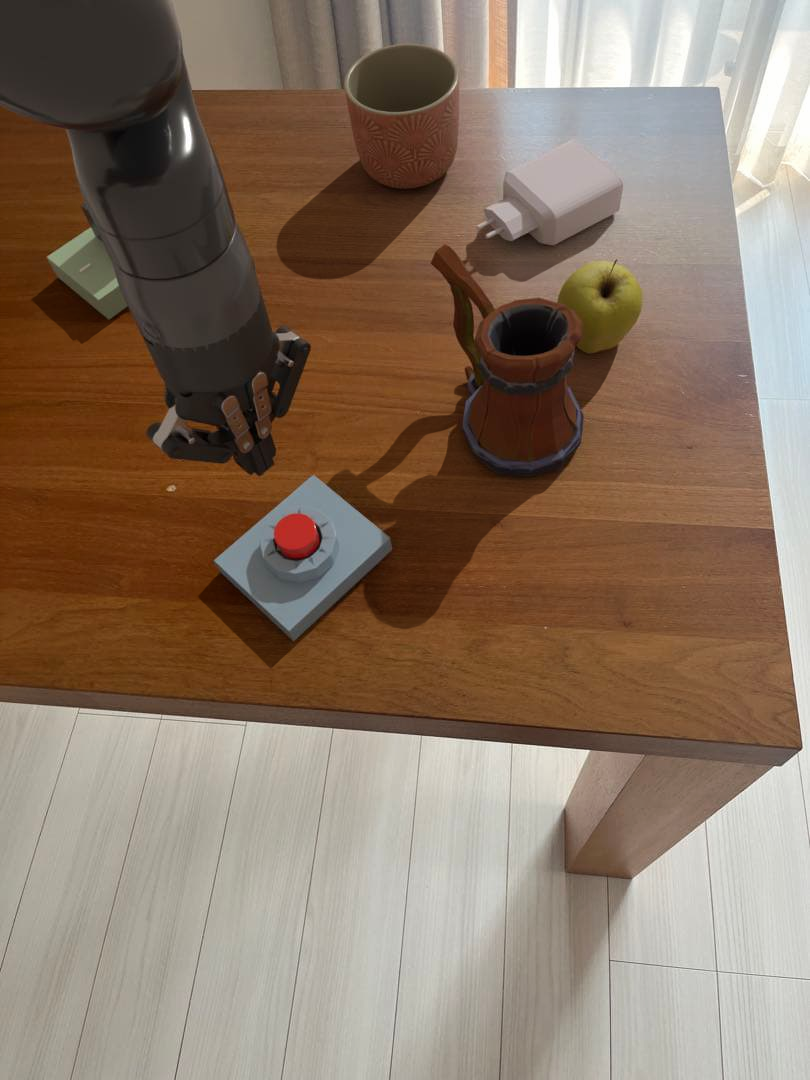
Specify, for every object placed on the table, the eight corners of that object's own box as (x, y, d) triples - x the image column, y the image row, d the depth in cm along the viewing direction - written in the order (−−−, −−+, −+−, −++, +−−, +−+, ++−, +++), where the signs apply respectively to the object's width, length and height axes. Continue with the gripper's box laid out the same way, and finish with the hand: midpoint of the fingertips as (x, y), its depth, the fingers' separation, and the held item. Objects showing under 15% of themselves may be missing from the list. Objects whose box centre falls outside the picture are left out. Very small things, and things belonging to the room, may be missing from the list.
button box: (293, 641, 75) (284, 622, 72) (219, 571, 79) (207, 550, 76) (392, 549, 79) (388, 527, 75) (317, 487, 83) (309, 463, 79)
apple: (555, 290, 91) (593, 222, 82) (625, 322, 91) (671, 258, 82) (532, 347, 88) (569, 282, 79) (605, 380, 88) (650, 319, 79)
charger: (458, 226, 98) (567, 171, 101) (506, 274, 94) (618, 215, 97) (457, 191, 94) (571, 134, 97) (507, 240, 90) (624, 179, 93)
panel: (110, 321, 96) (99, 300, 93) (55, 275, 100) (43, 254, 97) (202, 255, 100) (194, 233, 97) (146, 213, 104) (136, 191, 101)
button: (297, 567, 75) (293, 557, 73) (269, 542, 76) (265, 532, 75) (327, 539, 76) (324, 529, 74) (300, 515, 77) (296, 505, 76)
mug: (399, 382, 88) (384, 269, 75) (491, 327, 91) (492, 208, 78) (512, 503, 80) (516, 400, 67) (609, 439, 83) (631, 328, 70)
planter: (483, 169, 103) (482, 80, 93) (395, 216, 100) (385, 130, 91) (422, 117, 108) (415, 29, 99) (337, 160, 106) (322, 74, 96)
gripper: (240, 207, 55) (291, 387, 70) (65, 327, 51) (159, 491, 66) (321, 263, 52) (356, 438, 67) (142, 396, 48) (222, 551, 63)
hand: (258, 464), depth 66 cm, fingers closed
